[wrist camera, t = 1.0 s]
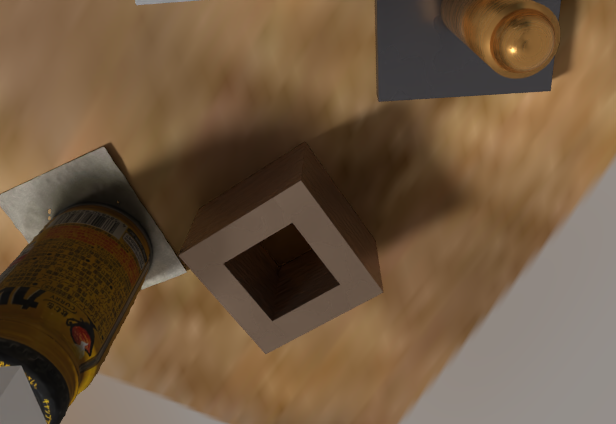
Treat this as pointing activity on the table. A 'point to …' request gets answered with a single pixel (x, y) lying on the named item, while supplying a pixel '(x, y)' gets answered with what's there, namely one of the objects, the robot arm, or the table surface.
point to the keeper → (464, 47)
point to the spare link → (296, 274)
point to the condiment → (75, 275)
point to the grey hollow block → (158, 1)
